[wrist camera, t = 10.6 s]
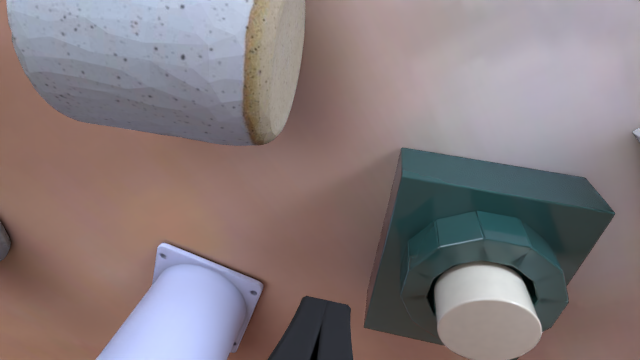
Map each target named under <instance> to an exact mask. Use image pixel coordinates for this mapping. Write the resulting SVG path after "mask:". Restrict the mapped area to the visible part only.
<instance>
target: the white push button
mask: <svg viewBox="0 0 640 360" xmlns="http://www.w3.org/2000/svg"><path fill="white" fill-rule="evenodd" d="M434 303H435V313H436V323H437V332H438V335H439V338H440V340H441V341H442V343H443V344H444V345H445V346H446V347H447V348H448V349H450V350H451V351H452V352H454V353H456V354H458V355H460V356H462V357H465V358H468V359H472V360H510V359H514V358H517V357H519V356H522V355H524V354H526V353H527V352H529V351H530V350H532V349H533V348H534V347H535V346H536V345H537V344H538V342H539V340H540V338H541V334H542V326H541V323H540V320H539V318H538V315H537V312H536V310H535V307H534V305H533V302H532V299H531V297H530V294H529V292H528V289H527V286H526V284H525V282H524V280H523V279H522V277H521V276H520V275H519V274H518V273H516V272H515V271H514V270H512V269H511V268H509V267H507V266H504V265H502V264H498V263H493V262H488V261H476V262H470V263H465V264H459V265H456V266H454V267H452V268H450V269H448V270H447V271H445V272H444V273H443V274H442V275H441V276H440V277H439V278H438V280H437V282H436V284H435V286H434Z"/></svg>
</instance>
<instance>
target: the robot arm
mask: <svg viewBox="0 0 640 360" xmlns="http://www.w3.org/2000/svg"><path fill="white" fill-rule="evenodd" d="M262 290H263V284H262V283H261V282H260V281H258V280H255V279H253V278H250V277H248V276H245V275H243V274H241V273H238V272H236V271H233V270H231V269H228V268H226V267H223V266H221V265H218V264H216V263H214V262H211V261H209V260H206V259H204V258H201V257H199V256H196V255H194V254H191V253H189V252H187V251H184V250H182V249H179V248H177V247H174V246H172V245H169V244H167V243H161V244H160V245H159V246H158V248H157V255H156V262H155V269H154V276H153V283H152V286H151V287H150V289H149V290H148V291H147V293H146V294H145V295H144V297H143V298H142V299H141V301H140V302H139V303H138V305H137V306H136V307H135V309H134V310H133V311H132V312H131V314H130V315H129V316H128V318H127V319H126V320H125V322H124V323H123V324H122V326H121V327H120V328H119V330H118V331H117V332H116V334H115V335H114V336H113V337H112V339H111V340H110V341H109V343H108V344H107V345H106V347H105V348H104V349H103V351H102V352H101V353H100V355H99V356H98V357H97V359H96V360H227V358H228V356H229V354H230V352H232V353H234V352H236V351H237V349H238V347H239V344H240V342H241V340H242V337H243V335H244V332H245V330H246V328H247V325H248V323H249V321H250V318H251V316H252V314H253V311H254V309H255V306H256V304H257V302H258V299H259V297H260V295H261V292H262ZM350 313H351V308H350V307H349V306H348V305H346V304H341V303H337V302H332V301H328V300H323V299H318V298H314V297H309V296H306V297H303V298H302V300H301V303H300V305H299V307H298V309H297V311H296V313H295V315H294V317H293V319H292V321H291V323H290V325H289V326H288V328H287V330H286V331H285V333H284V335H283V336H282V338H281V340H280V341H279V343H278V344H277V346H276V347H275V349H274V350H273V352H272V353H271V355H270V357H269V358H268V360H353V354H352V344H351V329H350Z"/></svg>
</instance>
